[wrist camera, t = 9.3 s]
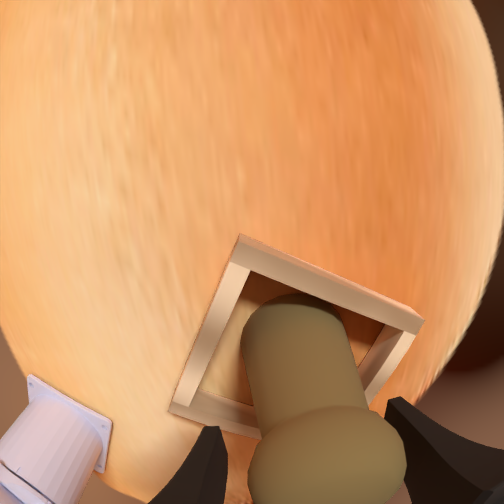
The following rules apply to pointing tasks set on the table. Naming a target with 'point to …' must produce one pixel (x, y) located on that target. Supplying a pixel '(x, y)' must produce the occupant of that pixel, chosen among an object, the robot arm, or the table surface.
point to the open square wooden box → (307, 280)
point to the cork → (314, 411)
